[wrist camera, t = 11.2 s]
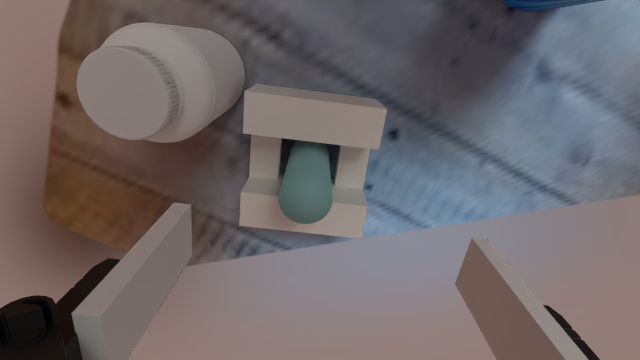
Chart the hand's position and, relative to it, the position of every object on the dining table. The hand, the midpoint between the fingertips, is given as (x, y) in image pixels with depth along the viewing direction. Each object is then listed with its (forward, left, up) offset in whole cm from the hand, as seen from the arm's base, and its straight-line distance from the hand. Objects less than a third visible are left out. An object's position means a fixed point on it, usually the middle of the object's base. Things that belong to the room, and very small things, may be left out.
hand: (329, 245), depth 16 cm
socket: (+2, -1, -21) cm, 21 cm away
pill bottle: (-5, -12, -21) cm, 25 cm away
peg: (+2, -1, -21) cm, 21 cm away
